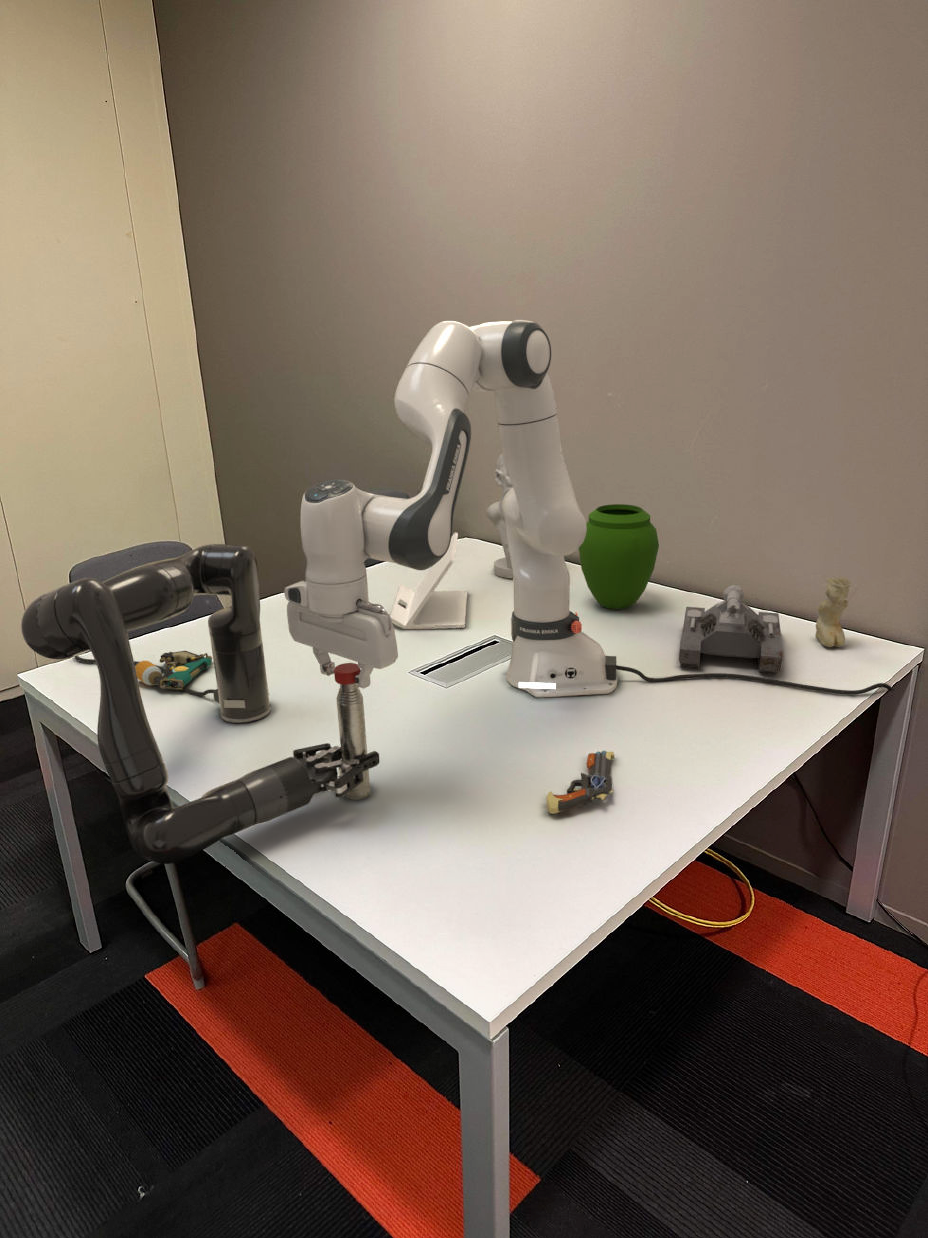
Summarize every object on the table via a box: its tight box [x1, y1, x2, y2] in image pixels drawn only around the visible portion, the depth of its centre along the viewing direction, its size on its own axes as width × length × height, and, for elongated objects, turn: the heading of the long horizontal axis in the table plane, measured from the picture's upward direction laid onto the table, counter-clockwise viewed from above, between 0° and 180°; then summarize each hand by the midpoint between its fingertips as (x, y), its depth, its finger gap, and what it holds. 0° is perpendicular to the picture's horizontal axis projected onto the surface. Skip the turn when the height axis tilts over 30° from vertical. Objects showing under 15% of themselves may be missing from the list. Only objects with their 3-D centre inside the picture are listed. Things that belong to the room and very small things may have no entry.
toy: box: [678, 584, 784, 674], centre depth 182 cm, size 25×20×15 cm
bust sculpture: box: [485, 453, 513, 579], centre depth 231 cm, size 16×24×35 cm
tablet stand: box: [389, 531, 468, 630], centre depth 211 cm, size 18×25×17 cm
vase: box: [578, 503, 660, 610], centre depth 210 cm, size 20×20×24 cm
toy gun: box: [546, 750, 616, 814], centre depth 135 cm, size 3×19×10 cm
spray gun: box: [135, 650, 213, 690], centre depth 180 cm, size 4×17×15 cm
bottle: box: [336, 683, 371, 801], centre depth 132 cm, size 4×4×21 cm
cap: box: [333, 662, 361, 685], centre depth 129 cm, size 4×4×2 cm
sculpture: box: [814, 576, 852, 648], centre depth 185 cm, size 6×7×15 cm
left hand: (369, 751), depth 135 cm, fingers closed on bottle, 4 cm apart
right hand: (345, 680), depth 130 cm, fingers open, 6 cm apart
